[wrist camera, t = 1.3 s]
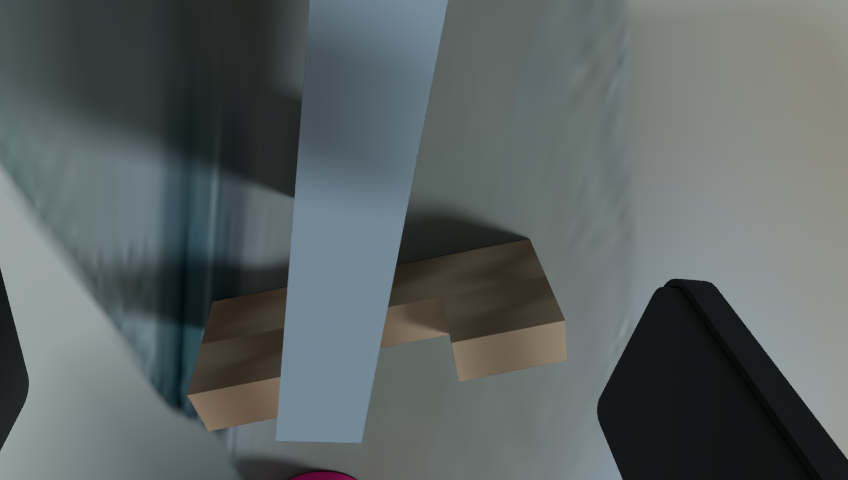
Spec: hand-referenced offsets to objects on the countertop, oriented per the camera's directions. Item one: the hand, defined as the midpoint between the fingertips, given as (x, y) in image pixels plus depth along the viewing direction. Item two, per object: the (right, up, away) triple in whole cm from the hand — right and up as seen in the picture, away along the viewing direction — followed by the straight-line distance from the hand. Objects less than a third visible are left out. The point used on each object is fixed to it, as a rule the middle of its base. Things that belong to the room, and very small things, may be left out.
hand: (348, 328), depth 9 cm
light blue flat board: (-2, +10, +15) cm, 18 cm away
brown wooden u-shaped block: (-1, -1, +22) cm, 22 cm away
